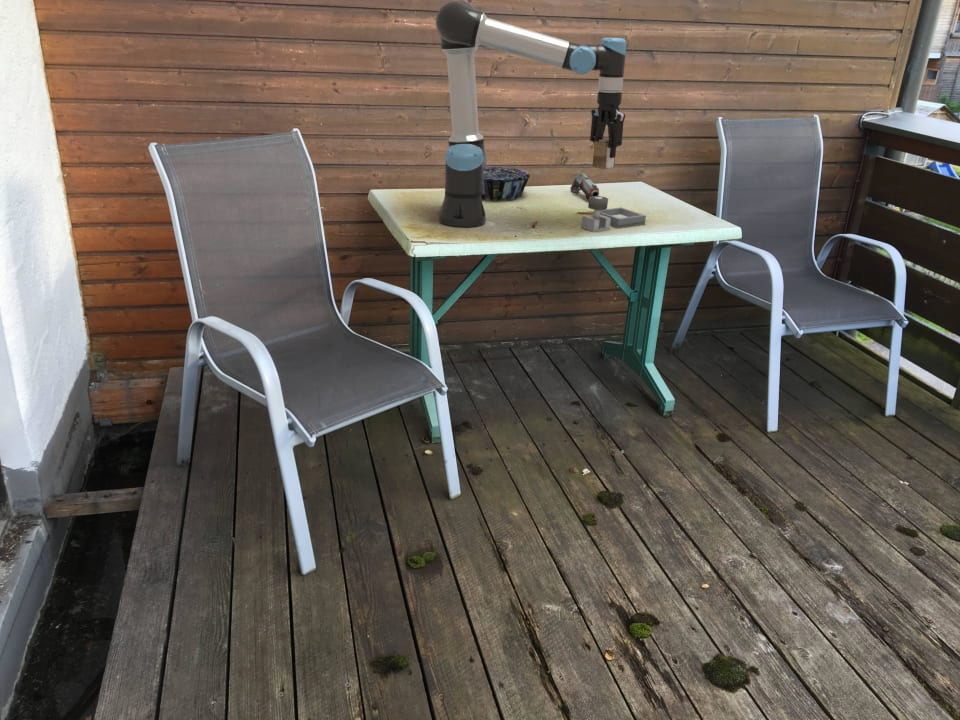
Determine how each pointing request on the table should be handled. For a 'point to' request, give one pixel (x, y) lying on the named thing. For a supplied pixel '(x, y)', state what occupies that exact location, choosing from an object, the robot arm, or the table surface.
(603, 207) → the wheel
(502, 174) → the decorative bowl
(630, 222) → the chassis bay
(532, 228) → the table surface
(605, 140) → the walnut block
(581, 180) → the toy gun
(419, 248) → the table surface
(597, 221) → the axle mount
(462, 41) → the robot arm
